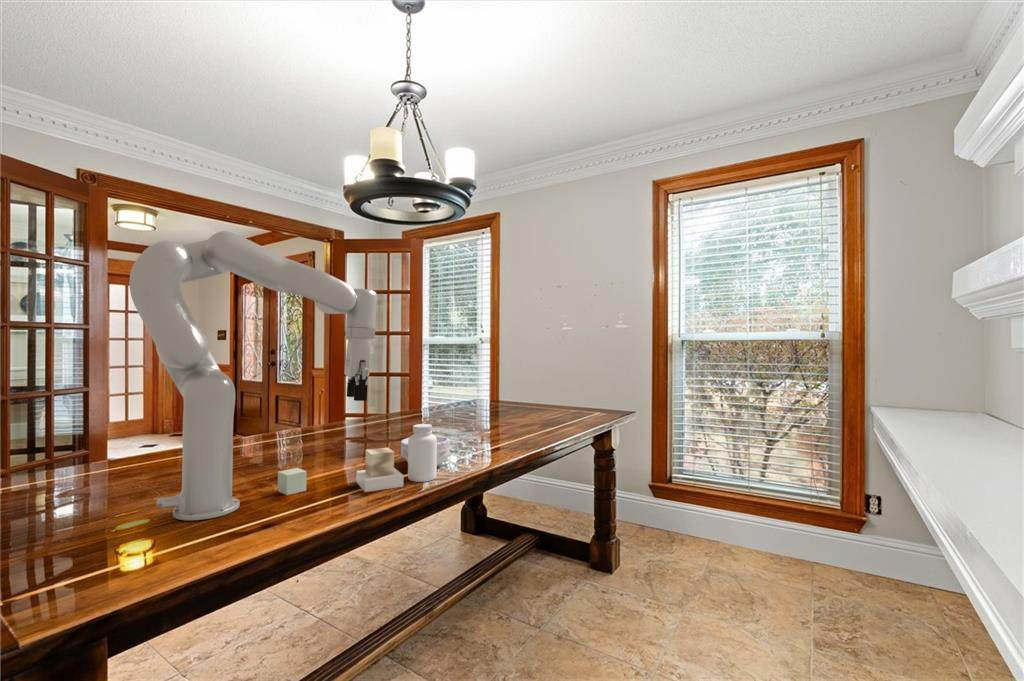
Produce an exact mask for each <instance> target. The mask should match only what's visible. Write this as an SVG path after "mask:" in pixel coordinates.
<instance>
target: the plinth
mask: <svg viewBox="0 0 1024 681" xmlns="http://www.w3.org/2000/svg"><path fill="white" fill-rule="evenodd" d="M355 477H356V478H355V481H356V482H355V483H356V484H357V485H358V486H359V487H360V488H361V489H362V490H363V492H364V493H369V492H376V491H381V490H383V491H384V490H390V489H395V488H403V487H404V474H402V472H400V471H399V470H398V469H396V468H395V467H394V474H393V475H386V476H378V477H370V476H369V475H368V474H367V473H366V472H365V469H362V470H356V475H355Z"/></svg>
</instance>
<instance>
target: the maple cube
mask: <svg viewBox="0 0 1024 681" xmlns="http://www.w3.org/2000/svg"><path fill="white" fill-rule="evenodd" d="M394 468H395V451H393V450H392V449H390V447H380V448H379V447H378V448H370V449H365V469H364V470H365V472H366V473H367V474H368V475H369V476H370V477H378V476H386V475H393V474H394Z"/></svg>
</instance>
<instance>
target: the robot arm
mask: <svg viewBox="0 0 1024 681" xmlns="http://www.w3.org/2000/svg"><path fill="white" fill-rule="evenodd" d="M228 272H231V273H233V275H237V276H239V277H241V278H244V279H247V280H249V281H252V282H253V283H256V284H257V285H259V286H262V287H264V288H267V289H269V290H271V291H272V290H273V291H275V292H278V293H279V292H280V293H285V294H292V295H297V296H301V297H304V298H307V299H309V300H311V301H313V302H314V304H315V307H316V308H317V309H318V310H319V311H320V312H322V313H324V314H327V315H336V314H337V315H340V314H341V315H342V314H343V315H345V314H346V319H345V320H346V321H345V336H344V340H347V347H346V354H345V362H344V373H343V374H344V375H345V377H347V382H346V384H347V385H346V397H347V398H353V401H354V402H366V401H367V400H368V388H369V387H368V386H369V385H368V384H369V382H368V377H369V376H370V371H371V370H370V368H371V357H372V356H371V350H372V342H375V337H376V336H375V335H376V320H377V319H376V318H377V304H378V295H377V292H376V291H374V290H372V289H367V288H354V287H352V286H351V285H350V284H348V283H347V282H345V281H344V280H341V279H339V278H337V277H335V276H333V275H331V274H329V273H327V272H325V271H323V270H320V269H317V268H314V267H312V266H309V265H306V264H303V263H302V262H299V261H296V260H293V259H290V258H287V257H285V256H284V255H280V254H279V253H277V252H274V251H273V250H270V249H268V248H266V247H265V246H262V245H260V244H258V243H256V242H254V241H252V240H250V239H248V238H245V237H244V236H241V235H239V234H237V233H235V232H233V231H228V230H227V231H226V230H222V231H217V232H215V233H214V234H211V236H209V238H208V239H204V240H201V241H197V242H192V243H188V244H180V243H177V242H175V241H173V240H161V241H158V242H155V243H153V244H150V245H149V246H148V247H147V248H146V249H144V250H143V251H142V253H140V255H139V256H138V257H137V259H136V260H135V262H134V263H133V266H132V268H131V270H130V275H129V284H128V285H129V292H130V293H129V294H130V297H131V301H132V303H133V305H134V308H135V310H136V311H137V313H138V315H139V317H140V319H141V321H142V322H143V325H144V327H145V328H146V329H147V330H146V331H147V332H148V333H149V335H150V337H151V338H152V342H153V343H154V345H155V350H156V353H157V355H158V357H159V359H160V361H161V363H162V364H163V366H164V368H165V370H166V371H167V373H168V375H169V376H170V378H171V380H172V381H173V383H174V385H175V387H176V388H177V390H178V392H179V394H180V395H181V396H182V398H183V413H182V414H183V415H182V440H181V441H182V443H181V444H182V457H181V458H182V460H181V461H182V463H181V465H182V467H181V490H180V493H178V494H175V495H174V496H169V497H168V496H167V497H166V496H165V497H157V498H156V508H161V509H163V510H164V509H170V508H174V509H173V510H172V517H173V518H174V519H176V520H179V521H201V520H202V521H203V520H209V519H215V518H218V517H223V516H226V515H229V514H231V513H233V512H234V511H236V510H238V509H239V507H240V504H241V503H240V502H241V501H240V499H238V498H237V497H233V464H234V463H233V458H234V457H233V456H234V454H233V452H234V450H233V449H234V436H233V435H234V417H235V416H234V414H235V406H236V388H235V385H234V382H233V380H232V378H230V376H228V375H227V374H226V373H224V372H223V371H222V370H221V369H220V367H219V365H218V363H217V361H216V360H215V358H214V356H213V354H212V352H211V350H210V344H209V340H208V338H207V337H206V335H205V334H204V333H203V331H202V330H201V328H200V326H199V325H198V322H196V319H195V318H194V316H193V314H192V313H191V310H190V309H189V307H188V304H187V302H186V301H185V299H184V297H183V294H182V293H183V292H182V289H181V288H182V287H181V285H182V284H186V283H188V282H189V283H190V282H194V281H196V280H201V279H206V278H211V277H213V276H217V275H218V276H219V275H221V274H225V273H228Z"/></svg>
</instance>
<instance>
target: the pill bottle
mask: <svg viewBox="0 0 1024 681" xmlns="http://www.w3.org/2000/svg"><path fill="white" fill-rule="evenodd" d="M412 432H413V434H412V435H410V436H409V437H408V438H409V440H408V462H407V477H408V478H407V479H408V480H409V481H411V482H418V483H424V482H430V481H432V480H435V479H436V477H437V472H438V471H437V469H438V468H437V467H438V466H437V439H436V436H437V435H435V434H433V425H432V424H429V423H417V424H415V425H413V426H412Z"/></svg>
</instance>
